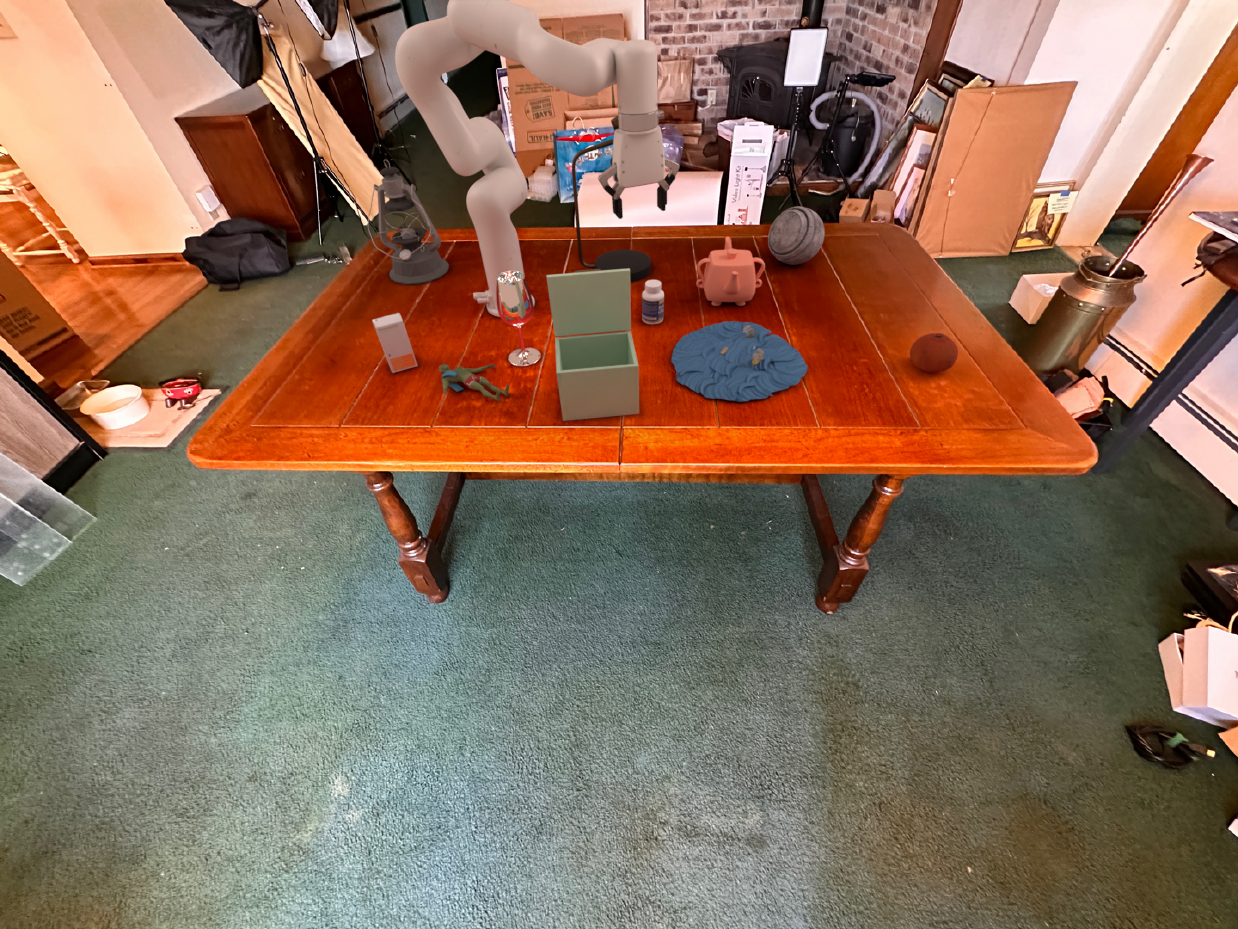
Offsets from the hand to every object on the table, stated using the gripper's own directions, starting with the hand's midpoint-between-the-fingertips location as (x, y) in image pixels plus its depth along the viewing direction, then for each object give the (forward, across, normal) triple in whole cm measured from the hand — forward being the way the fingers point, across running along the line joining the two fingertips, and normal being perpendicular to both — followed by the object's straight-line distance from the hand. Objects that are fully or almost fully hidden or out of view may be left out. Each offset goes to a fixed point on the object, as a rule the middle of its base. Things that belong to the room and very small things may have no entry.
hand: (640, 212), depth 119 cm
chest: (+27, +19, +24) cm, 41 cm away
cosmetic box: (+27, +58, -4) cm, 64 cm away
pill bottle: (+28, -3, -2) cm, 28 cm away
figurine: (+27, +43, +10) cm, 52 cm away
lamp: (+27, -4, -32) cm, 42 cm away
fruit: (+29, -51, +40) cm, 71 cm away
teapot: (+28, -26, -5) cm, 38 cm away
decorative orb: (+28, -52, -16) cm, 61 cm away
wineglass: (+27, +30, +3) cm, 41 cm away
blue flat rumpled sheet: (+28, -14, +23) cm, 39 cm away
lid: (+8, +17, +19) cm, 27 cm away
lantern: (+26, +51, -52) cm, 77 cm away
